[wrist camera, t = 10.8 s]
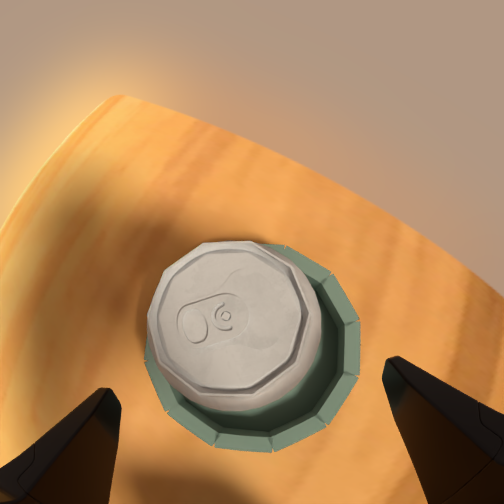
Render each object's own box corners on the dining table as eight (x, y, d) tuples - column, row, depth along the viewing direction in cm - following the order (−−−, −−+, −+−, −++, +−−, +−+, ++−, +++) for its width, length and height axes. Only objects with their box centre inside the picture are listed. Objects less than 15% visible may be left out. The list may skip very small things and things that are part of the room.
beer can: (301, 372, 17) (358, 374, 6) (229, 396, 16) (162, 436, 5) (275, 304, 19) (284, 201, 8) (206, 327, 18) (119, 258, 7)
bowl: (209, 465, 15) (200, 478, 13) (138, 304, 20) (121, 294, 18) (378, 383, 17) (394, 384, 14) (292, 232, 22) (295, 213, 19)
